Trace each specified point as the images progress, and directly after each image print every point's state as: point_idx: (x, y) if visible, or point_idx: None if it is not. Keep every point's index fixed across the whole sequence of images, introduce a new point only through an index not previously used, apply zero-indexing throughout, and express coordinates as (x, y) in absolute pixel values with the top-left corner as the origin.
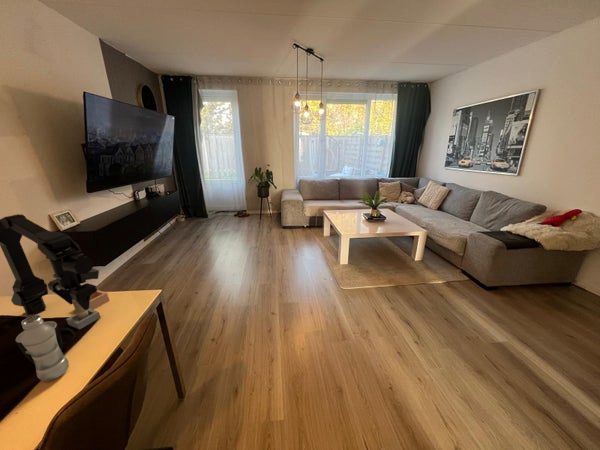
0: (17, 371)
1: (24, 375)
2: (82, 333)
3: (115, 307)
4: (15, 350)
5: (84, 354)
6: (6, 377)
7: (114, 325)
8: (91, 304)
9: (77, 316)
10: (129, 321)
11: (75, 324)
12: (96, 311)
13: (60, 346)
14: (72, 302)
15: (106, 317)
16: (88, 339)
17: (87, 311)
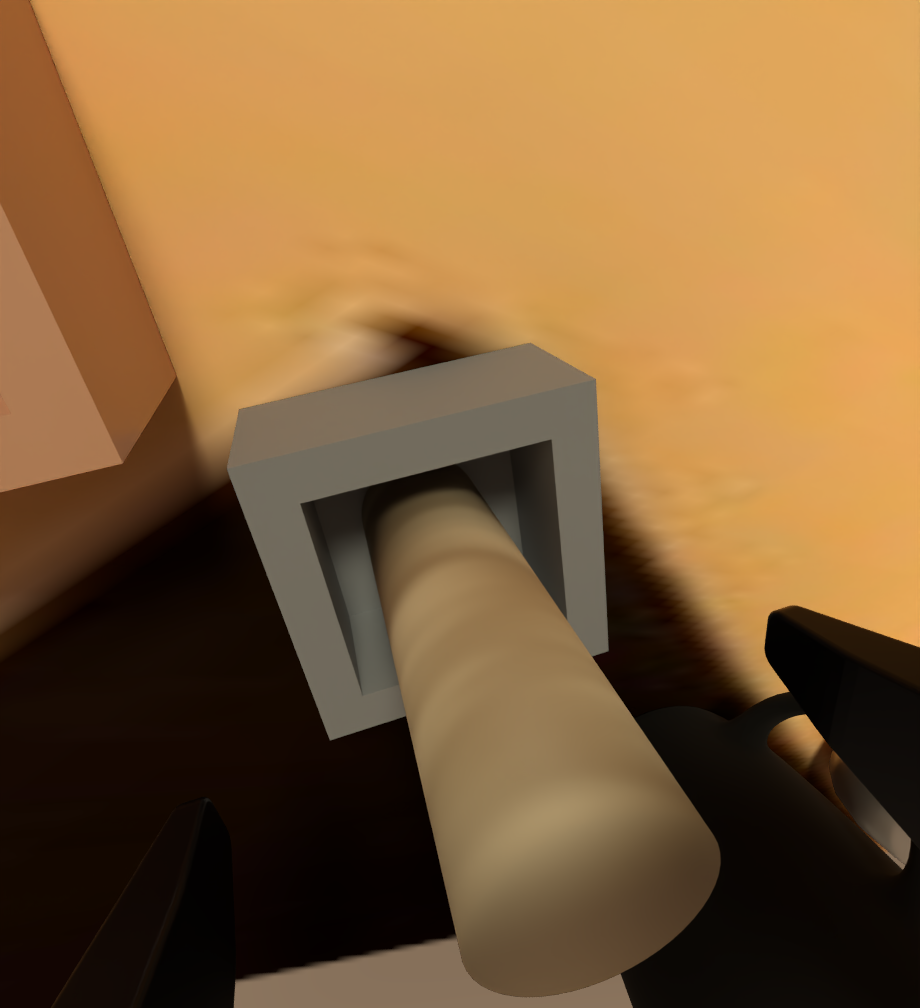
0: None
1: None
2: (606, 563)
3: (364, 2)
4: (321, 931)
5: (892, 595)
6: None
7: (826, 285)
8: (122, 383)
9: (339, 613)
10: None
11: None
12: (540, 400)
13: (778, 756)
14: (211, 846)
15: (550, 274)
16: (758, 542)
17: (488, 532)
